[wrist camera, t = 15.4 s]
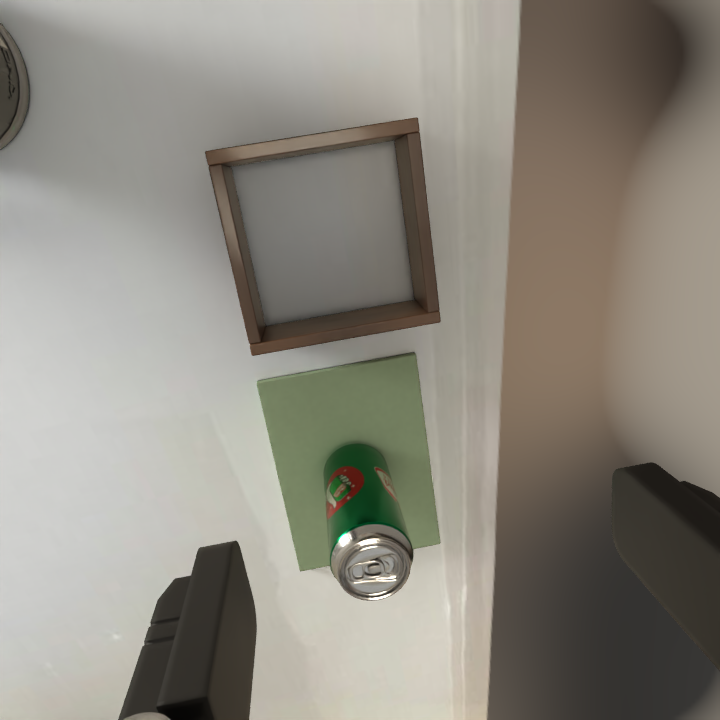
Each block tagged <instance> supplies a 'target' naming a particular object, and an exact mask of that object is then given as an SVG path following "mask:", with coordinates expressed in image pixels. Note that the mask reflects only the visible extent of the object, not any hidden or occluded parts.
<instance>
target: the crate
mask: <svg viewBox="0 0 720 720" xmlns="http://www.w3.org/2000/svg"><path fill="white" fill-rule="evenodd" d="M393 140H395V148H396V156H397V164H398V172H399V180H400V188H401V196H402V204H403V212H404V220H405V228H406V236H407V244H408V251H409V259H410V267H411V275H412V283H413V291H414V299H415V300H412V301H406V302H400V303H395V304H389V305H383V306H378V307H372V308H366V309H361V310H355V311H349V312H344V313H338V314H332V315H327V316H321V317H315V318H310V319H304V320H298V321H293V322H287V323H281V324H276V325H270V326H265V325H266V324H265V320H264V315H263V311H262V306H261V301H260V297H259V292H258V288H257V283H256V279H255V274H254V269H253V265H252V260H251V256H250V251H249V246H248V242H247V237H246V233H245V228H244V223H243V219H242V214H241V210H240V205H239V200H238V196H237V191H236V187H235V182H234V178H233V173H232V168H231V167H232V166H238V165H244V164H250V163H257V162H263V161H269V160H275V159H281V158H288V157H294V156H300V155H306V154H312V153H319V152H325V151H331V150H337V149H343V148H350V147H356V146H362V145H368V144H374V143H381V142H387V141H393ZM205 154H206V159H207V163H208V165H209V171H210V176H211V180H212V184H213V189H214V193H215V197H216V202H217V206H218V210H219V215H220V219H221V223H222V228H223V232H224V236H225V241H226V245H227V249H228V254H229V258H230V262H231V267H232V271H233V275H234V280H235V284H236V289H237V293H238V297H239V302H240V306H241V310H242V315H243V319H244V323H245V328H246V332H247V336H248V341H249V344H250V349H251V354H252V355H253V356H254V355H260V354H266V353H271V352H277V351H282V350H288V349H294V348H299V347H305V346H310V345H316V344H322V343H327V342H333V341H338V340H344V339H350V338H355V337H361V336H366V335H372V334H378V333H383V332H389V331H394V330H400V329H406V328H411V327H417V326H422V325H428V324H433V323H439V322H440V321H441V320H440V312H439V301H438V292H437V283H436V274H435V266H434V257H433V248H432V239H431V230H430V221H429V212H428V203H427V194H426V185H425V176H424V167H423V159H422V150H421V141H420V133H419V123H418V118H417V117H416V118H410V119H404V120H398V121H391V122H385V123H379V124H372V125H366V126H360V127H354V128H347V129H341V130H335V131H329V132H322V133H316V134H310V135H304V136H297V137H291V138H285V139H278V140H272V141H266V142H260V143H253V144H247V145H241V146H235V147H228V148H222V149H216V150H210V151H205Z"/></svg>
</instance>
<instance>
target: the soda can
mask: <svg viewBox="0 0 720 720" xmlns="http://www.w3.org/2000/svg"><path fill="white" fill-rule="evenodd" d="M323 477H324V491H325V504H326V518H327V532H328V546H329V560H330V567H331V571H332V573H333V575H334V577H335V578H336V579H337V581H338V582H339V583H340V585H341V586H342V588H343V589H344V590H345V591H346V592H347V593H348V594H350V595H351V596H353V597H355V598H358V599H361V600H380V599H384V598H386V597H389V596H391V595H393V594H394V593H396V592H397V591H399V590H400V589H401V588H402V587H403V585H404V584H405V583H406V581H407V579H408V577H409V574H410V568H411V565H412V562H413V548H412V544H411V540H410V537H409V534H408V531H407V527H406V524H405V521H404V518H403V514H402V511H401V508H400V505H399V501H398V498H397V495H396V492H395V488H394V485H393V482H392V478H391V475H390V472H389V469H388V465H387V462H386V460H385V458H384V457H383V455H382V454H381V453H380V452H379V451H378V450H377V449H375V448H374V447H372V446H369V445H366V444H360V443H355V444H349V445H345V446H343V447H341V448H339V449H337V450H336V451H335V452H333V453H332V454H331V455H330V457H329V458H328V460H327V461H326V464H325V466H324V472H323Z"/></svg>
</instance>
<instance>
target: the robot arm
mask: <svg viewBox="0 0 720 720" xmlns="http://www.w3.org/2000/svg"><path fill="white" fill-rule="evenodd" d="M28 102H29V84H28V77H27V72H26V68H25V65H24V62H23V59H22V56H21V54H20V52H19V50H18V48H17V46H16V44H15V42H14V41H13V39H12V38H11V36H10V35H9V33H8V32H7V30H6V29H5V28H4V27H3V25H2V24H1V23H0V149H2V148H3V147H5V146H6V145H7V144H8V143H9V142H10V141H11V140H12V139H13V138H14V137H15V135H16V134H17V133H18V131H19V129H20V128H21V126H22V124H23V122H24V119H25V116H26V113H27V108H28ZM612 536H613V540H614V544H615V546H616V548H617V551H618V553H619V555H620V556H621V558H622V559H623V561H624V562H625V563H626V564H627V565H628V566H629V568H630V569H631V570H632V571H633V572H634V573H635V574H636V576H637V577H638V578H639V579H640V580H641V582H642V583H643V584H644V585H645V586H646V587H647V588H648V590H649V591H650V592H651V593H652V594H653V595H654V596H655V598H656V599H657V600H658V601H659V602H660V603H661V604H662V606H663V607H664V608H665V609H666V610H667V611H668V612H669V614H670V615H671V616H672V617H673V618H674V619H675V620H676V622H677V623H678V624H679V625H680V626H681V627H682V629H683V630H684V631H685V632H686V633H687V634H688V635H689V636H690V638H691V639H692V640H693V641H694V642H695V643H696V645H697V646H698V647H699V648H700V649H701V650H702V651H703V653H704V654H705V655H706V656H707V657H708V658H709V659H710V661H711V662H712V663H713V664H714V665H715V666H716V668H717V669H718V670H719V671H720V498H719V497H718V496H716V495H715V494H714V493H712V492H710V491H707V490H705V489H703V488H700V487H698V486H696V485H693V484H691V483H688V482H686V481H682V482H679V481H678V480H677V479H675V478H674V477H673V476H671V475H670V474H669V473H668V472H666V471H665V470H663V469H662V468H661V467H660V466H659V465H657V464H655V463H646V464H640V465H635V466H630V467H624V468H620V469H616V470H615V471H614V473H613V477H612ZM150 623H151V627H149V628H148V631H147V635H146V638H145V641H144V643H145V645H144V646H143V647H142V650H141V653H140V656H139V659H138V662H137V665H136V668H135V671H134V674H133V677H132V680H131V683H130V686H129V689H128V692H127V695H126V698H125V701H124V704H123V707H122V710H121V713H120V716H119V719H118V720H249V714H250V703H251V691H252V679H253V668H254V656H255V645H256V632H257V625H256V612H255V605H254V600H253V596H252V592H251V588H250V584H249V580H248V576H247V573H246V569H245V565H244V561H243V557H242V553H241V549H240V546H239V544H238V542H237V541H232V542H227V543H221V544H216V545H211V546H206V547H200V548H199V550H198V552H197V555H196V559H195V563H194V567H193V570H192V574H191V576H186V577H181V578H176V579H174V580H173V582H172V583H171V584H170V585H169V587H168V588H167V589H166V590H165V592H164V593H163V594H162V595H161V597H160V598H159V599H158V601H157V604H156V607H155V610H154V613H153V616H152V619H151V622H150Z"/></svg>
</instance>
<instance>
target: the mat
mask: <svg viewBox="0 0 720 720" xmlns="http://www.w3.org/2000/svg"><path fill="white" fill-rule="evenodd" d="M257 387H258V391H259V396H260V400H261V404H262V408H263V413H264V417H265V421H266V426H267V430H268V434H269V439H270V443H271V447H272V452H273V456H274V460H275V465H276V469H277V473H278V478H279V482H280V486H281V491H282V495H283V499H284V504H285V508H286V512H287V517H288V521H289V525H290V530H291V534H292V538H293V542H294V547H295V551H296V555H297V560H298V564H299V568H300V571H305V570H310V569H315V568H320V567H325V566H330V560H329V546H328V532H327V518H326V504H325V491H324V477H323V472H324V466H325V464H326V461H327V460H328V458H329V457H330V455H331V454H332V453H333V452H335V451H336V450H337V449H339V448H341V447H343V446H345V445H349V444H355V443H360V444H366V445H369V446H372V447H374V448H375V449H377V450H378V451H379V452H380V453H381V454H382V455H383V457H384V458H385V460H386V462H387V465H388V469H389V472H390V475H391V478H392V482H393V485H394V488H395V492H396V495H397V498H398V501H399V505H400V508H401V511H402V514H403V518H404V521H405V524H406V527H407V531H408V534H409V537H410V540H411V544H412V548H413V549H416V548H421V547H426V546H431V545H436V544H440V536H439V529H438V521H437V513H436V506H435V498H434V490H433V482H432V475H431V467H430V459H429V452H428V444H427V436H426V428H425V421H424V413H423V405H422V398H421V390H420V382H419V374H418V367H417V359H416V354H415V353H409V354H403V355H398V356H392V357H387V358H381V359H376V360H370V361H365V362H359V363H354V364H348V365H343V366H337V367H332V368H326V369H320V370H315V371H309V372H304V373H298V374H293V375H287V376H282V377H276V378H271V379H265V380H260V381H257Z"/></svg>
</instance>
